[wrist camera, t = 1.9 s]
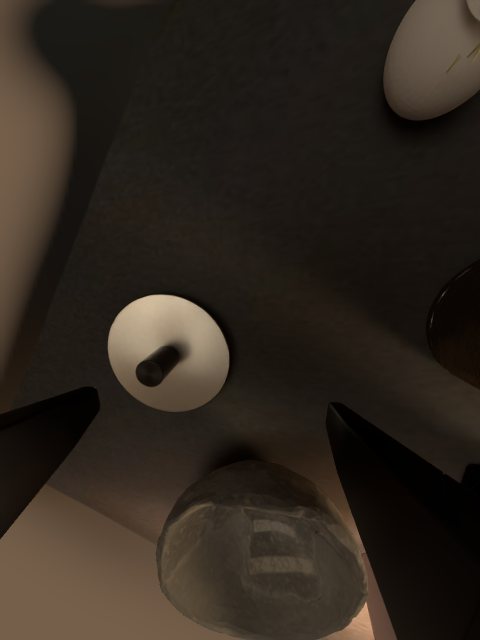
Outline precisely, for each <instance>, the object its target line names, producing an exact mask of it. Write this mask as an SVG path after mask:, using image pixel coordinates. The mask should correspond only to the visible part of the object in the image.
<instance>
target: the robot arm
mask: <svg viewBox="0 0 480 640" xmlns="http://www.w3.org/2000/svg"><path fill="white" fill-rule="evenodd" d="M99 410H100V400H99V393H98V389H97V388H96V387H82V388H79V389H76V390H73V391H70V392H67V393H64V394H61V395H58V396H55V397H52V398H49V399H46V400H43V401H40V402H36V403H33V404H30V405H27V406H24V407H21V408H18V409H15V410H12V411H9V412H6V413H3V414H0V539H1V537H2V536H3V535H4V534H5V533H6V531H7V530H8V529H9V528H10V527H11V525H12V524H13V523H14V521H15V520H16V519H17V518H18V517H19V515H20V514H21V513H22V512H23V510H24V509H25V508H26V507H27V505H28V504H29V503H30V502H31V501H32V499H33V498H34V497H35V495H36V494H37V493H38V492H39V491H40V489H41V488H42V487H43V486H44V484H45V483H46V482H47V481H48V479H49V478H50V477H51V476H52V475H53V473H54V472H55V471H56V470H57V468H58V467H59V466H60V465H61V463H62V462H63V461H64V460H65V458H66V457H67V456H68V455H69V453H70V452H71V451H72V450H73V448H74V447H75V445H76V444H77V443H78V441H79V440H80V438H81V437H82V435H83V434H84V432H85V431H86V430H87V428H88V427H89V425H90V424H91V422H92V421H93V419H94V418H95V416H96V415H97V413H98V412H99ZM326 429H327V433H328V437H329V441H330V445H331V449H332V453H333V457H334V461H335V465H336V469H337V473H338V476H339V479H340V481H341V484H342V487H343V490H344V493H345V495H346V498H347V501H348V504H349V507H350V509H351V512H352V515H353V518H354V521H355V523H356V526H357V529H358V532H359V535H360V537H361V540H362V543H363V546H364V549H365V551H366V554H367V557H368V560H369V563H370V565H371V568H372V571H373V574H374V577H375V579H376V582H377V585H378V588H379V591H380V593H381V596H382V599H383V602H384V604H385V607H386V610H387V613H388V616H389V618H390V621H391V624H392V627H393V630H394V632H395V635H396V638H397V640H480V466H469V467H468V468H467V470H466V474H465V477H464V480H463V484H462V485H461V484H460V483H458V482H457V481H455V480H454V479H453V478H451V477H450V476H448V475H447V474H444V475H443V472H442V471H441V470H439V469H438V468H436V467H435V466H433V465H432V464H430V463H429V462H427V461H426V460H424V459H423V458H422V457H420V456H419V455H417V454H416V453H414V452H413V451H411V450H410V449H408V448H407V447H405V446H404V445H402V444H401V443H399V442H398V441H396V440H395V439H394V438H392V437H391V436H389V435H388V434H386V433H385V432H383V431H382V430H380V429H379V428H377V427H376V426H374V425H373V424H371V423H370V422H368V421H367V420H366V419H364V418H363V417H361V416H360V415H358V414H357V413H355V412H354V411H352V410H351V409H349V408H348V407H346V406H345V405H343V404H342V403H337V402H330V403H329V404H328V409H327V417H326Z"/></svg>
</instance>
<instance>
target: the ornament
mask: <svg viewBox="0 0 480 640" xmlns="http://www.w3.org/2000/svg"><path fill="white" fill-rule="evenodd" d="M383 85H384V93H385V97H386V99H387V102H388V104H389V106H390V107H391V109H392V110H393V111H394V112H395V113H396V114H398V115H399V116H401V117H403V118H405V119H409V120H427V119H432V118H435V117H438V116H441V115H443V114H445V113H447V112H449V111H451V110H453V109H455V108H456V107H458V106H460V105H461V104H463V103H464V102H465V101H467V100H468V99H469V98H471V97H472V96H473V95H474V94H476V93H477V92H478V91H479V90H480V0H416V1H415V2H414V3H413V5H412V6H411V7H410V9H409V10H408V12H407V14H406V15H405V17H404V18H403V20H402V22H401V24H400V25H399V27H398V29H397V31H396V33H395V35H394V38H393V40H392V43H391V45H390V48H389V51H388V54H387V58H386V62H385V68H384V77H383Z"/></svg>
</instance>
